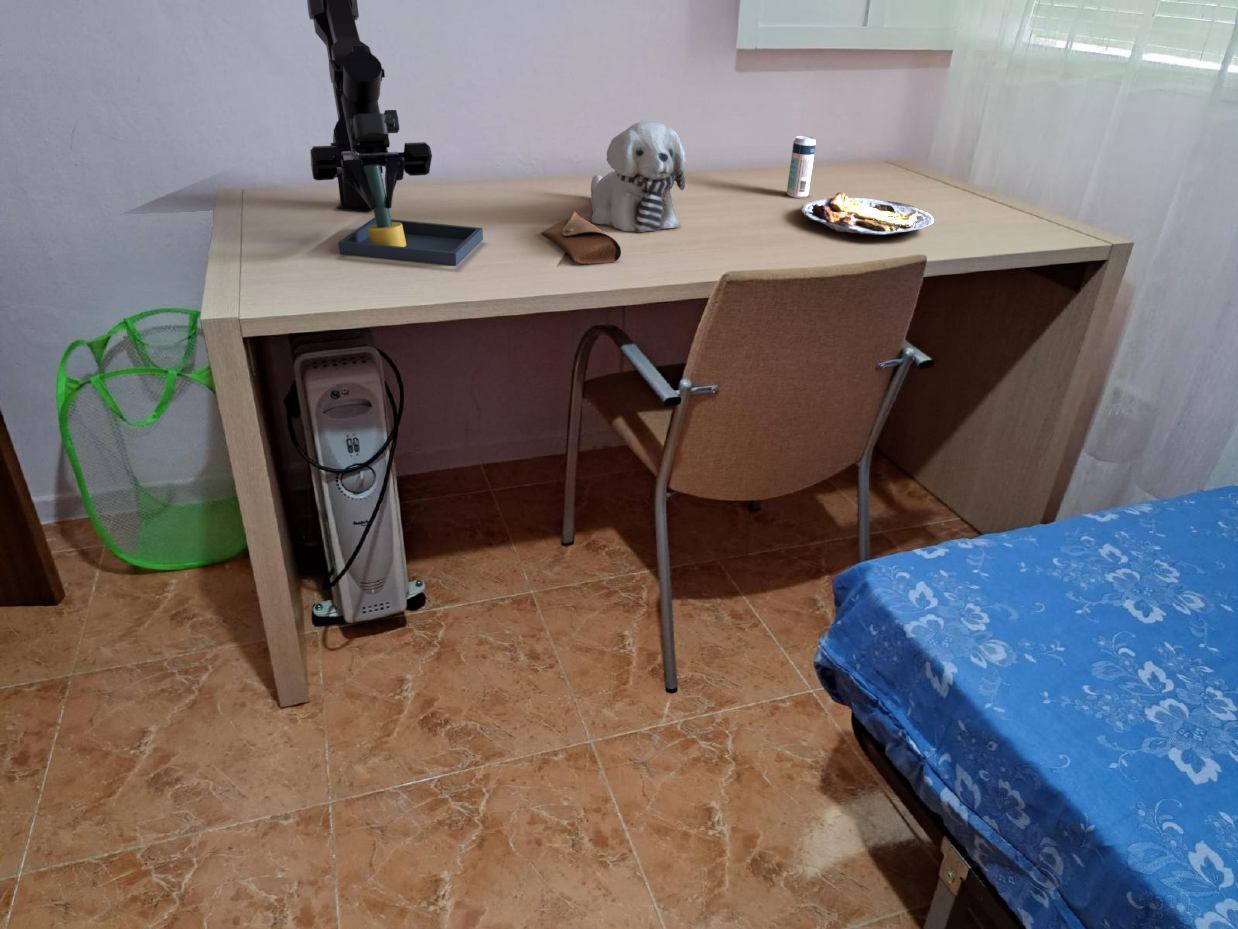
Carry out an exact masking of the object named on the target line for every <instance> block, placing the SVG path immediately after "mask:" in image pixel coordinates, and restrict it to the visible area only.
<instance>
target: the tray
mask: <svg viewBox="0 0 1238 929" xmlns="http://www.w3.org/2000/svg"><path fill="white" fill-rule="evenodd" d="M391 222H400V223H402V226H403V231H404V236H405V240H406V246H405V247H400V246H390V245H380V244H371V243H370V238H369V234H368V227H370V226H373V225H377V223H376V219H375V217H373V218H371V219H370V220H368V221H367V222H365V223H364V224H363V225H361V226H360V227H358V228H357V229H355V230H354V231H353V232H351V233H349V234H348V235H346V236H345V237H343V238H342V239H340V240H339V241H338V252H339V255H342V256H351V257H352V256H353V257H363V258H373V259H383V260H393V261H402V262H410V263H411V262H412V263H421V264H432V265H441V266H452V267H457V266H459V264H461V262H462V261H463V260H465V259H466V257H467V256H468V255H469V254H470V253H471V252H472V251H474V250H475V249H476V247H477V246H478V245H479V244H480V243H481V242H482V241H483V240H484V230H483V227H478V226H465V225H457V224H446V223H434V222H425V221H415V220H405V219H403V220H402V219H394V218H393V219H392V218H391Z"/></svg>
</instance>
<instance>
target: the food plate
mask: <svg viewBox="0 0 1238 929" xmlns="http://www.w3.org/2000/svg"><path fill="white" fill-rule="evenodd" d="M800 213H801V214H802V215H801V216H802V217H804V218H807V217H808V220H811V221H816V222H818V223H822V224H823V225H825V226H827V227H828V228H829V229H832V230H834V231H835V232H841V233H845V232H847V233H851V234H855V233H856V234H860V235H873V236H876V235H879V236H885V235H895V234H899V233H905V232H911V231H919V230H920V229H924V228H927V227H929V226H930V225H933V224H934V217H933V215H931V214H930V213H929V212H926V211H924V210H921V209H918V208H916V207H914V205H910V204H907V203H902V202H897V201H892V200H891V201H890V200H883V199H874V198H863V197H848V195H846V194H845V193H844V192H837V193H836V194H835V196H833V197H831V198H829V197H828V198H827V197H826V198H820V199H815V200H810V201H808V202H806V203H804V204H802V206H801V210H800ZM888 216H893V217H888ZM894 217H895V218H894ZM873 219H874V220H873ZM878 220H879V221H878ZM915 221H917V222H918V223H917V222H915ZM914 222H915V223H914ZM892 223H894V224H892ZM913 223H914V225H913ZM895 224H897V225H895ZM900 225H901V226H900ZM911 225H913V226H912V227H906V226H911ZM885 230H886V231H885Z"/></svg>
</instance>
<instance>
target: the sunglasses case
mask: <svg viewBox="0 0 1238 929" xmlns="http://www.w3.org/2000/svg"><path fill="white" fill-rule="evenodd" d="M540 234H541V235H542V236H544V237H545V238H547V239H548V240H550V241H551V242H553V243H554V244H555V245H557V247H559V248H560V249H562V250H563V251H564V252H565V253H564V255H565V256H566V257H567V258H569V259H570V260H571V261H573V262H574V263H577V264H582V265H583V264H585V265H600V264H601V265H602V264H611V263H616V262H617V261H618V260H619V259H620V257H621V256H622V249H621V248H622V247H621V246H620V244H619V242H618V241H617V240H616V239H614V238H613V237H612V236H610V235H609V234H608V233H605V232H604V231H603V230H601V229H600V228H598V227H597V226H596V225H594V223H592V222H590V221H589V220H586V219H585V218H583V217H582V216H580V215H579V214H578V213H577V212H576V211H572V213H571V215H569V216H568V217H566V218H564V219H562V220H560V221H558V222H557V223H555V224H553V225H552V226H549V227H548V228H546V229H545V230H543V231H541V232H540Z"/></svg>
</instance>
